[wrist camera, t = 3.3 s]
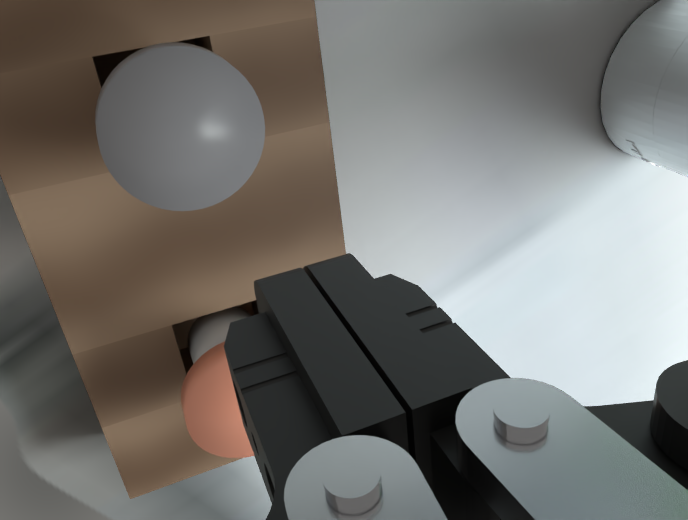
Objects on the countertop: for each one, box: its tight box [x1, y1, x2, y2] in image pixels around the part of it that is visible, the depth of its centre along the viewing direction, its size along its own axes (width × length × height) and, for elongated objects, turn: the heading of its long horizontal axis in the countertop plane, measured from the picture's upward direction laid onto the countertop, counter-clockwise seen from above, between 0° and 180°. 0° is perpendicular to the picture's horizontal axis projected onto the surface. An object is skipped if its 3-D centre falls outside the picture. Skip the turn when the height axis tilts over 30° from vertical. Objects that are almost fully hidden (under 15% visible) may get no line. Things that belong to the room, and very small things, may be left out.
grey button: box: [95, 42, 265, 211], centre depth 22 cm, size 5×5×5 cm
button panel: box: [0, 0, 346, 499], centre depth 28 cm, size 24×12×5 cm, turn 8°
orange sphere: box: [181, 306, 254, 458], centre depth 27 cm, size 5×5×5 cm
